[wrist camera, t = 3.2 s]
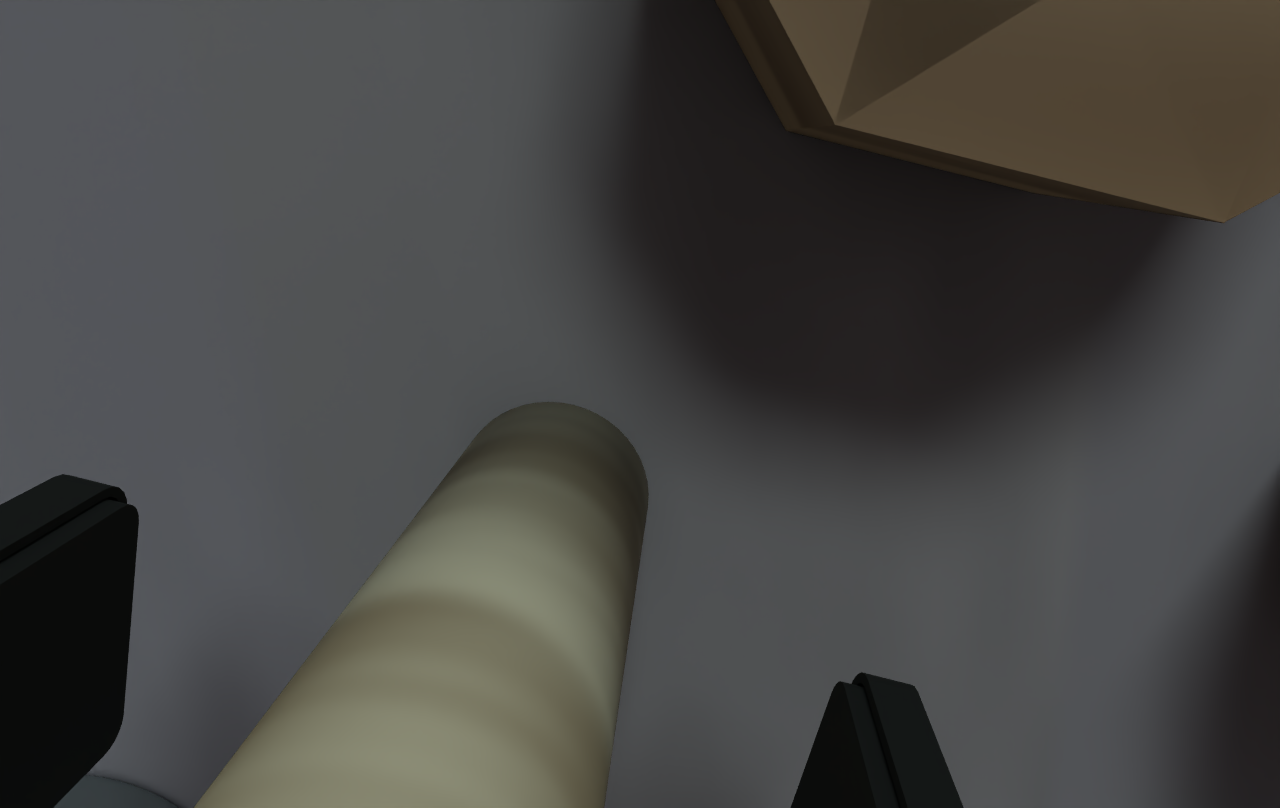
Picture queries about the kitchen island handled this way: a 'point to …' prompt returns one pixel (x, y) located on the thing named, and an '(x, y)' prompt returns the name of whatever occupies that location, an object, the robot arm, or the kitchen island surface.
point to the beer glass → (110, 795)
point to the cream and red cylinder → (473, 640)
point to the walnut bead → (1038, 91)
